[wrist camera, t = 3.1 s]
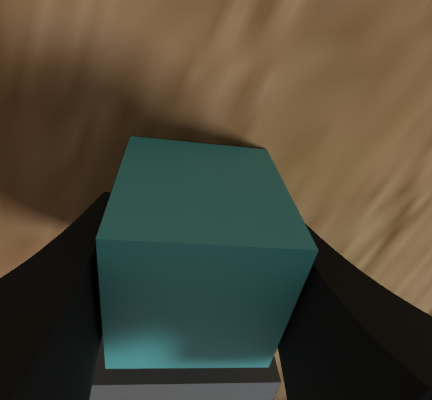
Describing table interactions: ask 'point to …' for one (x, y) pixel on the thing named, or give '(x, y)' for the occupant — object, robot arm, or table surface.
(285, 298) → the teal block
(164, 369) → the block
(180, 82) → the table surface
